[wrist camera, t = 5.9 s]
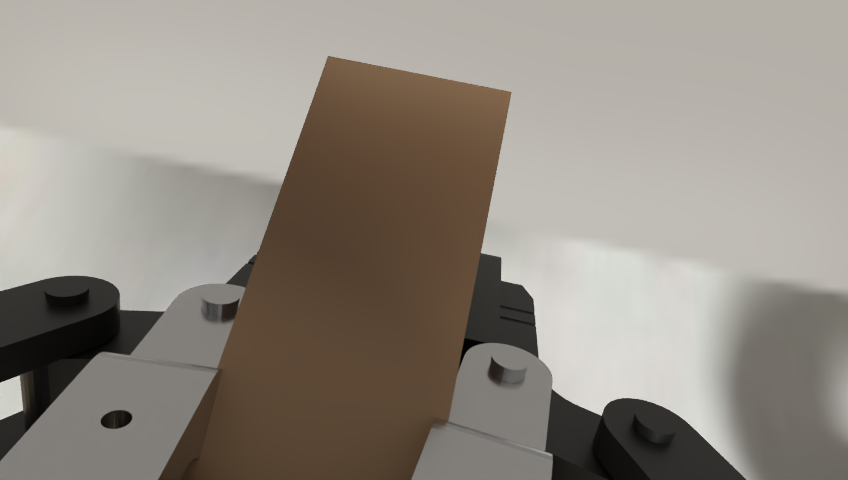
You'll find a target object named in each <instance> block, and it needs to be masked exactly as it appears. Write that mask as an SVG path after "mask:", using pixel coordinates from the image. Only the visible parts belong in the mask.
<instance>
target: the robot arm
mask: <svg viewBox="0 0 848 480" xmlns="http://www.w3.org/2000/svg"><path fill="white" fill-rule="evenodd" d="M258 252H259V251H258ZM258 252H257V255H258ZM257 255H254V256H253V257H252V258H251V259H250V260H249V262H248V264H245V265H244V266H243V267H242V268H241V269H240V270H239V271H238V272H237V273H236V274H235V275H234V276H233V277H232V278H231V279H230V280H229V281H228V282H227V283H226V284H208V285H201V286H197V287H194V288H191V289H188V290H186V291H184V292H183V293H181V294H180V295H179V296H178V297H177V298H176V299H175V300H174V301H173V302H172V304H171V305H170V306H169V307H168V309H167V310H166V311H165V312H155V311H128V310H120V294H119V290H118V289H117V288H116V287H115V286H114V285H113V284H111V283H110V282H108V281H105V280H102V279H98V278H94V277H87V276H63V277H55V278H49V279H45V280H41V281H37V282H34V283H30V284H26V285H22V286H19V287H15V288H11V289H7V290H4V291H0V382H3V381H5V380H8V379H11V378H13V377H16V376H19V375H20V381H21V391H22V402H23V411H21V412H19V413H16V414H14V415H11V416H9V417H7V418H4V419H2V420H0V480H181V478H182V476H183V474H184V472H185V470H186V468H187V467H188V465H189V464H190V462H191V461H192V460H200V456H201V452H202V448H203V444H204V440H205V436H206V432H207V429H208V425H209V421H210V417H211V413H212V409H213V405H214V401H215V397H216V393H217V390H218V386H219V382H220V378H221V374H222V370H223V369H222V368H217V367H218V364H219V362H220V359H221V356H222V353H223V350H224V347H225V345H226V342H227V339H228V336H229V333H230V331H231V328H232V325H233V322H234V319H235V317H236V314H237V311H238V308H239V305H240V303H241V300H242V297H243V294H244V291H245V289H246V286H247V283H248V280H249V277H250V274H251V272H252V269H253V266H254V263H255V260H256V258H257ZM411 480H746V479H745V478H744V477H743V476H742V475H741V474H740V473H739V472H738V471H737V470H736V469H735V468H734V467H733V466H732V465H731V464H730V463H729V462H728V461H727V460H726V459H724V458H723V457H722V456H721V455H720V454H719V453H718V452H717V451H716V450H715V449H714V448H713V447H712V446H711V445H710V444H709V443H708V442H707V441H706V440H705V439H704V438H703V437H702V436H701V435H700V434H699V433H698V432H697V431H696V430H694V429H693V428H692V427H691V426H690V425H689V424H688V423H687V422H686V421H685V420H683V419H682V418H681V417H679V416H678V415H676V414H675V413H673V412H671V411H670V410H668V409H666V408H664V407H661V406H659V405H656V404H654V403H651V402H648V401H644V400H639V399H631V398H622V399H617V400H614V401H611V402H610V403H608V404H607V405H606V407H605V408H604V411H603V414H602V416H600V415H598V414H596V413H593V412H591V411H589V410H586V409H584V408H582V407H579V406H577V405H575V404H573V403H571V402H569V401H568V400H566V399H564V398H563V397H561V396H560V395H559V394H557V393H556V392H555V391H554V390H553V389H552V375H551V372H550V370H549V369H548V367H547V366H546V365H545V364H544V363H543V362H542V361H541V360H540V359H539V357H538V346H537V335H536V327H535V315H534V302H533V298H532V297H531V296H530V295H529V293H528V292H527V291H526V290H525V288H524V287H523V286H522V285H518V284H513V283H508V282H504V281H501V257H496V256H491V255H487V254H482V253H480V259H479V264H478V269H477V274H476V279H475V285H474V290H473V295H472V300H471V306H470V311H469V316H468V321H467V326H466V332H465V337H464V342H463V347H462V352H461V358H460V363H459V368H458V373H457V379H456V384H455V389H454V394H453V399H452V405H451V410H450V415H449V420H448V421H447V420H444V419H441V418H438V417H437V418H436V419H435V421H434V423H433V425H432V428H431V430H430V433H429V435H428V438H427V441H426V443H425V446H424V448H423V451H422V453H421V456H420V459H419V461H418V464H417V466H416V469H415V471H414V474H413V477H412V479H411Z"/></svg>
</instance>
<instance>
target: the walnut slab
mask: <svg viewBox="0 0 848 480" xmlns="http://www.w3.org/2000/svg"><path fill="white" fill-rule="evenodd" d="M510 96H511V92H508V91H503V90H498V89H493V88H488V87H483V86H477V85H472V84H467V83H463V82H457V81H452V80H447V79H442V78H437V77H432V76H427V75H422V74H417V73H412V72H407V71H401V70H396V69H391V68H386V67H381V66H376V65H371V64H366V63H361V62H355V61H351V60H345V59H340V58H335V57H330V56H328V58H327V61H326V64H325V67H324V70H323V72H322V75H321V78H320V81H319V83H318V86H317V89H316V92H315V95H314V98H313V100H312V103H311V106H310V109H309V112H308V114H307V117H306V120H305V123H304V126H303V128H302V131H301V134H300V137H299V140H298V143H297V146H296V148H295V151H294V154H293V157H292V159H291V162H290V165H289V168H288V171H287V173H286V176H285V179H284V182H283V185H282V187H281V190H280V193H279V196H278V199H277V201H276V204H275V207H274V210H273V213H272V215H271V218H270V221H269V224H268V227H267V230H266V232H265V235H264V238H263V241H262V244H261V246H260V249H259V252H258V255H257V258H256V260H255V263H254V266H253V269H252V272H251V274H250V277H249V280H248V283H247V286H246V289H245V291H244V294H243V297H242V300H241V303H240V305H239V308H238V311H237V314H236V317H235V319H234V322H233V325H232V328H231V331H230V333H229V336H228V339H227V342H226V345H225V347H224V350H223V353H222V356H221V359H220V362H219V364H218V367H217V368H222V369H223V370H222V374H221V378H220V382H219V386H218V390H217V393H216V397H215V401H214V405H213V409H212V413H211V417H210V421H209V425H208V429H207V432H206V436H205V440H204V444H203V448H202V452H201V456H200V460H192V461H191V462H190V464H189V465H188V467H187V468H186V470H185V472H184V474H183V476H182V478H181V480H411V479H412V477H413V474H414V471H415V469H416V466H417V464H418V461H419V459H420V456H421V453H422V451H423V448H424V446H425V443H426V441H427V438H428V435H429V433H430V430H431V428H432V425H433V423H434V421H435V419H436V418H437V417H438V418H441V419H444V420H447V421H448V420H449V415H450V410H451V405H452V399H453V394H454V389H455V384H456V379H457V373H458V368H459V363H460V358H461V352H462V347H463V342H464V337H465V332H466V326H467V321H468V316H469V311H470V306H471V300H472V295H473V290H474V285H475V279H476V274H477V269H478V264H479V259H480V253H481V248H482V243H483V238H484V233H485V227H486V222H487V217H488V211H489V206H490V201H491V196H492V191H493V186H494V180H495V175H496V170H497V165H498V159H499V154H500V149H501V144H502V139H503V133H504V128H505V123H506V118H507V112H508V107H509V102H510Z"/></svg>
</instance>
